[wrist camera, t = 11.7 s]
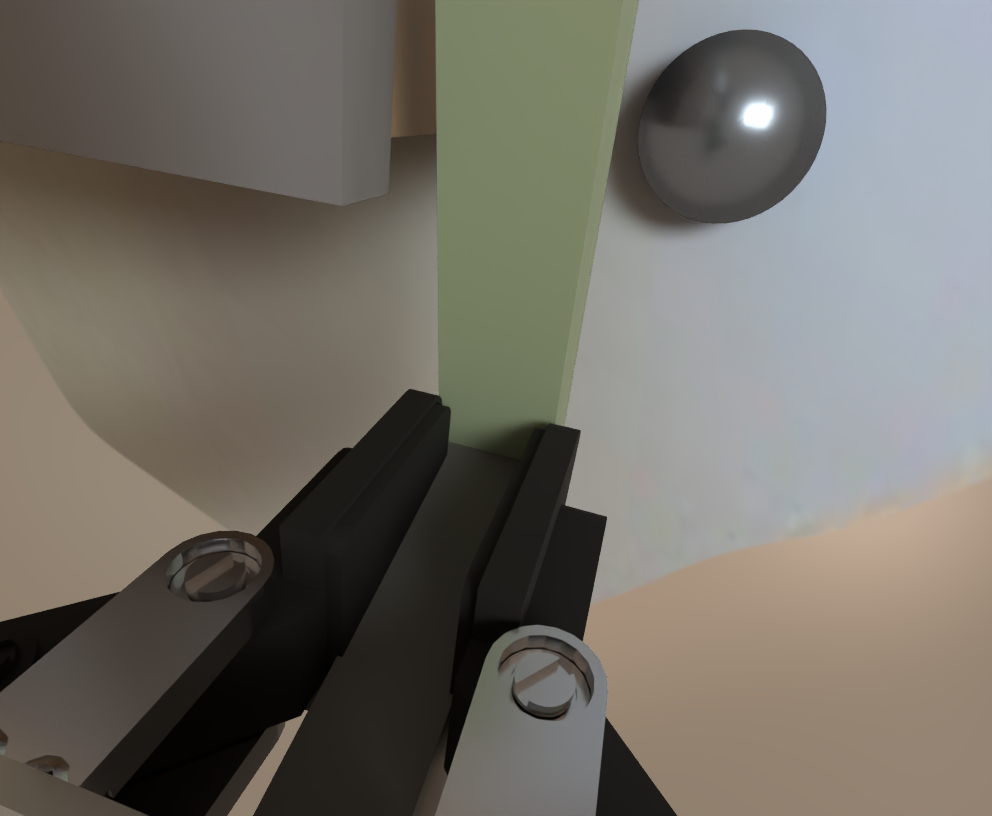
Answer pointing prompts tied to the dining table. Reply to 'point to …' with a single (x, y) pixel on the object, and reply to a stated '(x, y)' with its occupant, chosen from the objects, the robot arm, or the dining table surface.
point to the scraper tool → (474, 372)
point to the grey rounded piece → (732, 126)
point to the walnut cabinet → (224, 87)
